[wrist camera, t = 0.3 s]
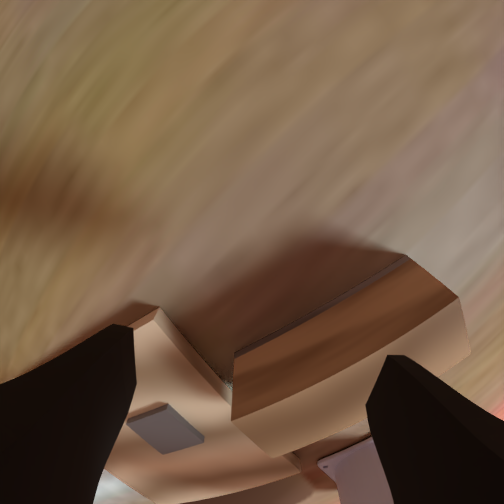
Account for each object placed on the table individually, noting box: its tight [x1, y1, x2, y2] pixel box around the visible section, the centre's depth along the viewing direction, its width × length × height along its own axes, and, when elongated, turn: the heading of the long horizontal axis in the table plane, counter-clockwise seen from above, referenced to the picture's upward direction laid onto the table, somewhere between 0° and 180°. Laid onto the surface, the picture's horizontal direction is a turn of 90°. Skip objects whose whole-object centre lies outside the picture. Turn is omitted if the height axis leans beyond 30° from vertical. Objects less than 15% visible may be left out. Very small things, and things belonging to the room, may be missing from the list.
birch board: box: [104, 307, 302, 504], centre depth 21 cm, size 18×16×2 cm
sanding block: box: [231, 255, 471, 459], centre depth 16 cm, size 4×12×6 cm, turn 122°
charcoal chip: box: [126, 404, 205, 455], centre depth 20 cm, size 4×4×1 cm
